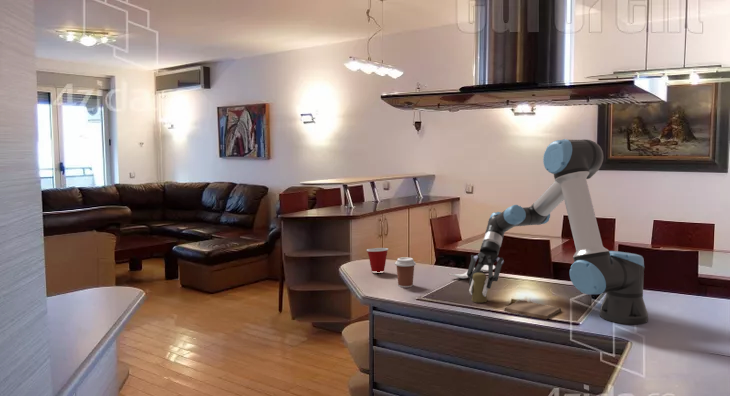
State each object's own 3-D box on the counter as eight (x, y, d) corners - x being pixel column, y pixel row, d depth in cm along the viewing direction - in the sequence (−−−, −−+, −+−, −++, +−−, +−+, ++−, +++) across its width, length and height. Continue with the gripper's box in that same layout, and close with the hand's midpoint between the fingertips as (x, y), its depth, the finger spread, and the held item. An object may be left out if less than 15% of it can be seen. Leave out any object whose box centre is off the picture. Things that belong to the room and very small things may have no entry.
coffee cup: (415, 288, 234) (415, 261, 233) (394, 288, 236) (393, 260, 235) (416, 283, 243) (416, 256, 242) (396, 282, 245) (396, 256, 244)
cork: (487, 302, 211) (487, 274, 210) (471, 302, 212) (471, 274, 211) (486, 298, 217) (487, 271, 216) (471, 298, 218) (471, 271, 217)
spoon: (447, 279, 251) (447, 272, 250) (482, 268, 274) (482, 261, 274) (464, 282, 245) (464, 275, 244) (498, 270, 268) (498, 263, 268)
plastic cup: (380, 269, 273) (380, 245, 272) (393, 273, 264) (392, 248, 263) (362, 272, 267) (361, 248, 266) (374, 276, 258) (374, 251, 257)
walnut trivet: (560, 310, 200) (560, 307, 200) (546, 319, 190) (546, 316, 190) (519, 303, 210) (519, 300, 210) (504, 310, 200) (504, 307, 200)
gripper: (514, 252, 223) (501, 301, 210) (472, 249, 232) (458, 296, 219) (510, 241, 218) (497, 291, 205) (468, 238, 227) (453, 285, 214)
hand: (477, 293), depth 212 cm, fingers closed on cork, 5 cm apart
